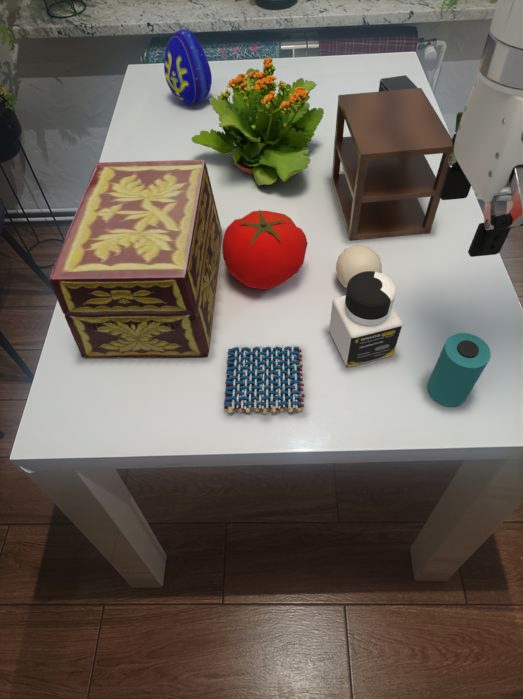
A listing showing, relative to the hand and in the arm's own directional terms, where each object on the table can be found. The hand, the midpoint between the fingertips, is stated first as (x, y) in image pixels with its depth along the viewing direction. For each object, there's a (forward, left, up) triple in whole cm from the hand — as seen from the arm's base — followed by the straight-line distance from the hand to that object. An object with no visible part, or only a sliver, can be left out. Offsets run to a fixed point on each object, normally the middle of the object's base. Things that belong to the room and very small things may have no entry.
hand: (466, 224), depth 53 cm
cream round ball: (+8, -11, -20) cm, 24 cm away
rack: (0, -30, -20) cm, 36 cm away
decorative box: (+40, -14, -20) cm, 46 cm away
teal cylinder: (0, +10, -20) cm, 22 cm away
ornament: (+34, -75, -20) cm, 85 cm away
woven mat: (+24, +6, -20) cm, 32 cm away
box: (-8, -52, -20) cm, 56 cm away
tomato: (+22, -15, -20) cm, 33 cm away
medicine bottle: (+10, +1, -20) cm, 22 cm away
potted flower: (+21, -48, -20) cm, 56 cm away
